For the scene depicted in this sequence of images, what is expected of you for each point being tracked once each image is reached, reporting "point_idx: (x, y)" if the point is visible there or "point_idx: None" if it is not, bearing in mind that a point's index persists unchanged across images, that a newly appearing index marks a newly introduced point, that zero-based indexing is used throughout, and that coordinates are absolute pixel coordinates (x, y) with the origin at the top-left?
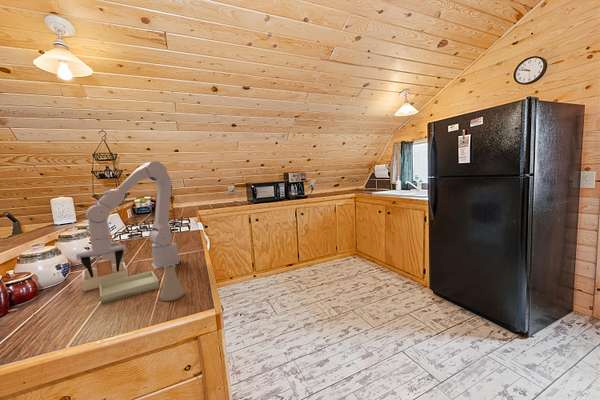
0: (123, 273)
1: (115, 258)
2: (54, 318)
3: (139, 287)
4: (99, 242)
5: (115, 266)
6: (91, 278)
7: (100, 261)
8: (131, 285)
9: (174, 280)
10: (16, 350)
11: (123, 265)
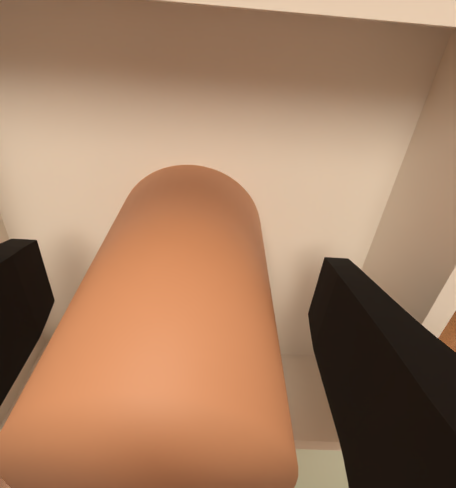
0: (324, 430)
1: None
2: (4, 484)
3: None
4: None
5: (394, 22)
6: (1, 7)
7: (74, 435)
8: (305, 463)
9: None
10: None
11: (452, 267)
